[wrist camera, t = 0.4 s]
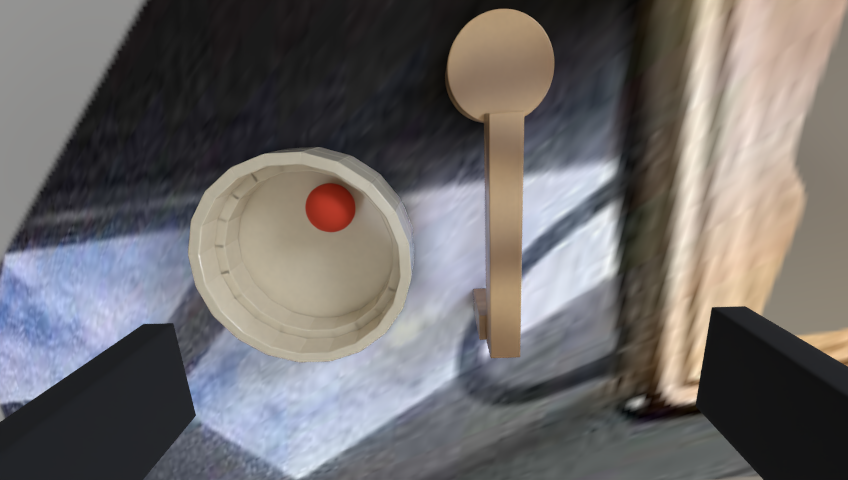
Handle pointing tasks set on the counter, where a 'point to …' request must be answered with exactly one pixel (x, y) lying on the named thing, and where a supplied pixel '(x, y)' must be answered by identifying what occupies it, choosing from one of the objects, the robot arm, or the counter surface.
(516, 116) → the ladle
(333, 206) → the tomato
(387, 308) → the bowl
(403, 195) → the counter surface
